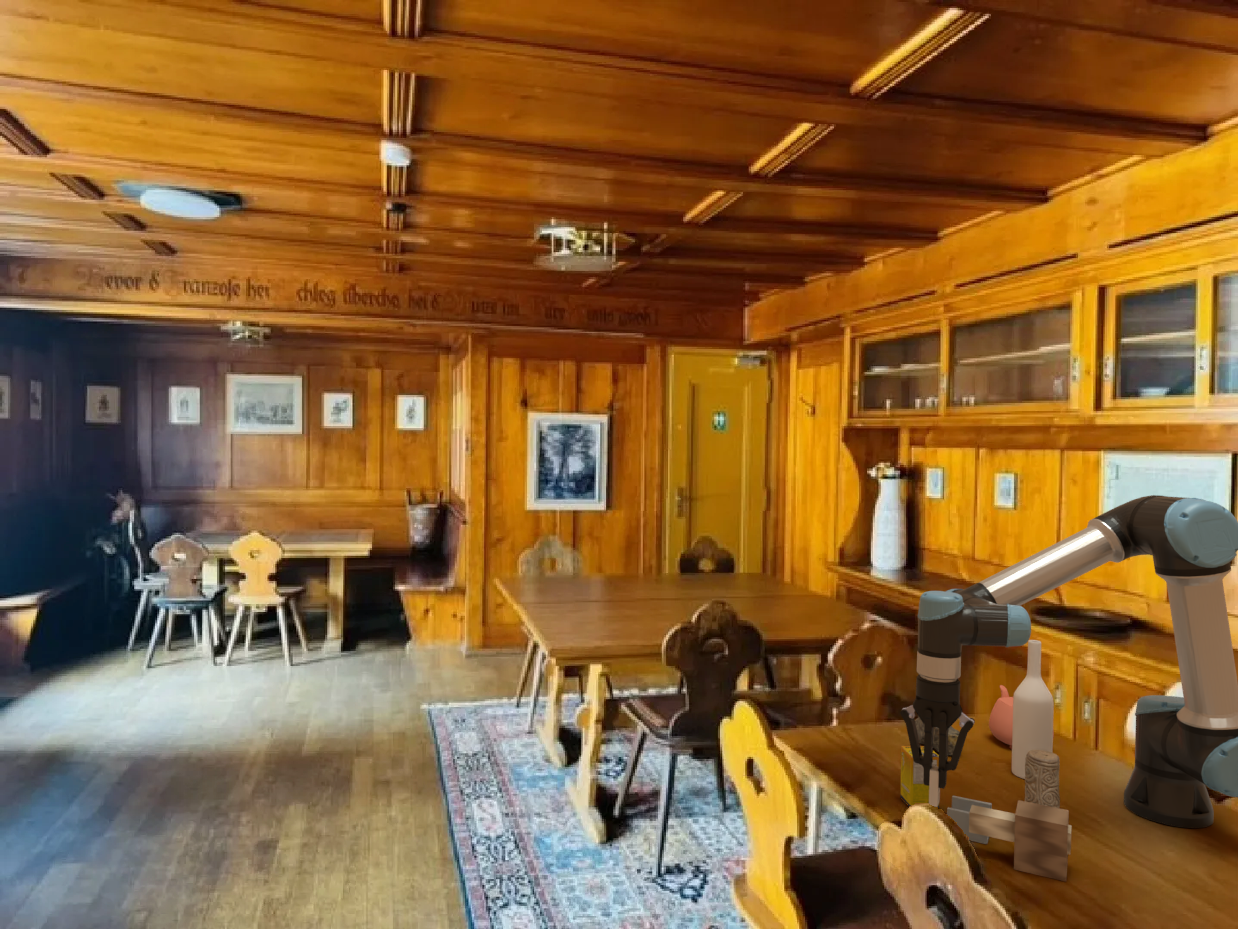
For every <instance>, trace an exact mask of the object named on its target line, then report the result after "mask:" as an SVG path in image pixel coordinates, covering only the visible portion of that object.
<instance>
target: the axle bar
mask: <svg viewBox="0 0 1238 929" xmlns="http://www.w3.org/2000/svg"><path fill="white" fill-rule="evenodd" d="M1072 827H1073V826H1072V825H1071V824H1068V839H1067V854H1068V855H1071V852H1072V851H1071V850H1072ZM969 832H971V833H975V834H980V835H984V836H989V838H993V839H998V840H1002V841H1007V842H1011V843H1015V813H1013V812H1008V811H1003V810H1000V809H999V810H998V809H994V808H992V809H990V808H985V807H980V806H975V805H972V806H971V809H970V812H969Z"/></svg>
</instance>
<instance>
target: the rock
mask: <svg viewBox="0 0 1238 929" xmlns="http://www.w3.org/2000/svg"><path fill="white" fill-rule="evenodd" d="M915 723H916V728H917V733H918V738H919V742H920V745H922V746H924V736H925V732H924V723H923V722H922V720H921V719H920V717H919V716H918V715H917V718H915ZM959 732H960V730H958V729H956V728H954V727H953V725H952V726H951V727H949V731H948V757H950V756H951V757H952V755H953V752H954V748H955V745H956V742H957V739H958V735H959ZM933 750H935V751H936V753H939V728H937V727H934V735H933Z"/></svg>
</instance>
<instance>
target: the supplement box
mask: <svg viewBox="0 0 1238 929" xmlns="http://www.w3.org/2000/svg"><path fill="white" fill-rule="evenodd" d="M900 747H901V749H900V752H901V753H900V799H901V798H902V799H903V800H904V801H905V802H906V803H907V804H908V806H911V805H914V804H915V803H929V786H928V785H924V782H923V778H924V768H923V766H922V765H920V764H917V763H915V762H914V760H913V756H912V751H911V746H910V745H907V746H905V745H901V746H900ZM920 747H921V752H922V756H924V745H920ZM938 765H939V753H938V752H937V751H936V752H935V750H933V763H932V766H937V767H938ZM902 799H901V800H902ZM903 800H902V801H903ZM904 801H903V802H904ZM905 802H904V803H905ZM906 803H905V804H906ZM908 806H907V807H908ZM938 808H939V809H940V803H939V804H938Z"/></svg>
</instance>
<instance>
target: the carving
mask: <svg viewBox="0 0 1238 929" xmlns="http://www.w3.org/2000/svg"><path fill="white" fill-rule="evenodd" d="M1025 760H1026V762H1025V779H1024V783H1025V784H1024V801H1025V802H1030V803H1035V804H1040V805H1045V806H1050V807H1055V808H1060V807H1061V802H1060V801H1061V798H1060V787H1059V786H1060V768H1061V767H1060V756H1059V755H1057V753H1054V752H1053V751H1052V752H1048V751H1044V750H1030V751H1028V753H1027V755H1026V758H1025Z"/></svg>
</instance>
